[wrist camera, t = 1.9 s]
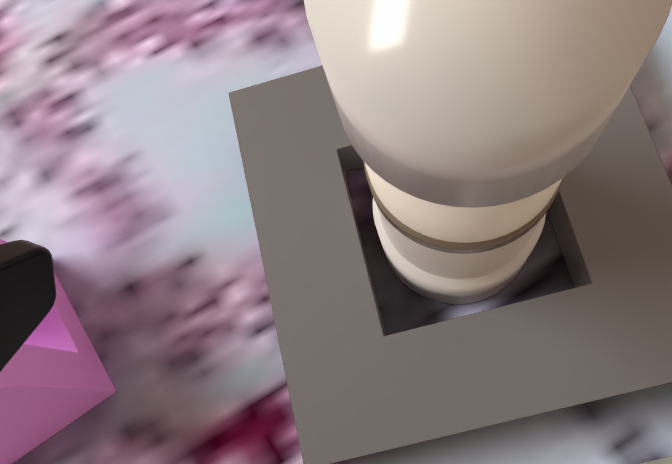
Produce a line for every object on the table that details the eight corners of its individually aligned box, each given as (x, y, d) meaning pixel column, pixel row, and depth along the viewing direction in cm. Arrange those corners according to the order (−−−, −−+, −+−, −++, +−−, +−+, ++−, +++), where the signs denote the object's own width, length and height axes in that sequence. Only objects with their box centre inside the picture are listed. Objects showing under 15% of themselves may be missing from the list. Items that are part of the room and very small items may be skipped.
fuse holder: (715, 369, 18) (746, 364, 17) (317, 463, 19) (304, 469, 18) (575, 24, 22) (589, -12, 20) (245, 119, 23) (228, 92, 21)
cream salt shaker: (551, 282, 20) (741, 69, 8) (402, 320, 20) (347, 176, 8) (505, 145, 21) (599, -223, 9) (366, 183, 22) (272, -120, 9)
